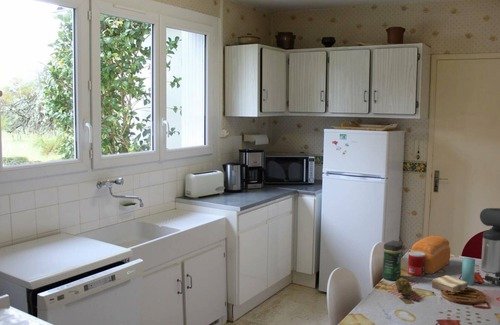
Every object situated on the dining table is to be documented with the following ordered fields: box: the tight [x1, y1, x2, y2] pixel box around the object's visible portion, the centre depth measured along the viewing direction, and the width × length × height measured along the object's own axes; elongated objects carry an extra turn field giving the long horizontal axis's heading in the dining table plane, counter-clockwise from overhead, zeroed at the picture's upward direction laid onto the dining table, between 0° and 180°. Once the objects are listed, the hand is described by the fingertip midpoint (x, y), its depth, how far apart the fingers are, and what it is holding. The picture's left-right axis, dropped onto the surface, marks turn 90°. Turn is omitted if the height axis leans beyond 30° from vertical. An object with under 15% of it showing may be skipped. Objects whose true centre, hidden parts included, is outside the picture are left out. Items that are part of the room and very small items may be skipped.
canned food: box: [407, 250, 425, 277], centre depth 250 cm, size 8×8×11 cm
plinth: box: [431, 275, 468, 292], centre depth 230 cm, size 11×11×4 cm
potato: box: [394, 277, 413, 296], centre depth 222 cm, size 8×13×8 cm, turn 141°
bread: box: [410, 235, 451, 275], centre depth 262 cm, size 14×26×16 cm, turn 139°
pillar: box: [461, 257, 476, 286], centre depth 237 cm, size 6×6×12 cm
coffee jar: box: [381, 239, 403, 281], centre depth 243 cm, size 10×8×19 cm
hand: (490, 275), depth 228 cm, fingers open, 8 cm apart
